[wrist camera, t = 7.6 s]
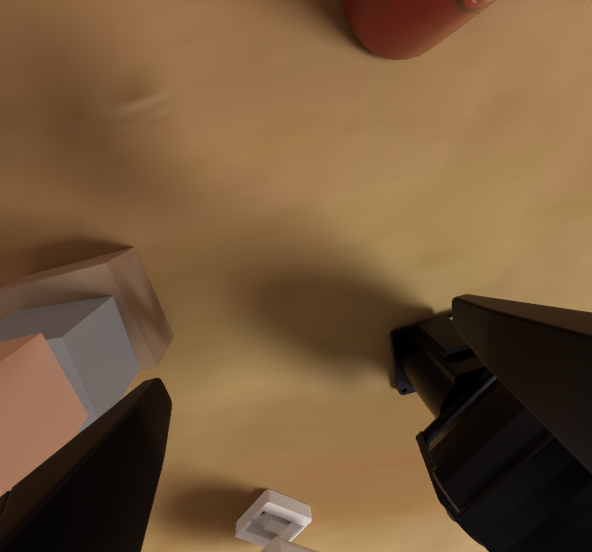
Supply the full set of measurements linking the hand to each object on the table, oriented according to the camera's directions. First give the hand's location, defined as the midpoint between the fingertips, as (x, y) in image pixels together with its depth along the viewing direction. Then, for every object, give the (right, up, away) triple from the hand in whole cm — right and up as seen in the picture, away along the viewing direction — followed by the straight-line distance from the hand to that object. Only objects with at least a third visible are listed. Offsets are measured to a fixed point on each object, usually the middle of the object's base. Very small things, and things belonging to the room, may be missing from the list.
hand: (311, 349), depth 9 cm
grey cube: (-13, -2, +8) cm, 15 cm away
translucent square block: (-14, 0, +12) cm, 18 cm away
